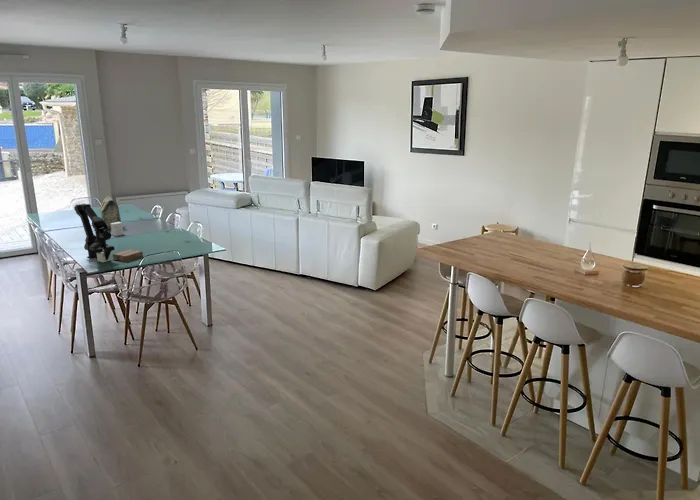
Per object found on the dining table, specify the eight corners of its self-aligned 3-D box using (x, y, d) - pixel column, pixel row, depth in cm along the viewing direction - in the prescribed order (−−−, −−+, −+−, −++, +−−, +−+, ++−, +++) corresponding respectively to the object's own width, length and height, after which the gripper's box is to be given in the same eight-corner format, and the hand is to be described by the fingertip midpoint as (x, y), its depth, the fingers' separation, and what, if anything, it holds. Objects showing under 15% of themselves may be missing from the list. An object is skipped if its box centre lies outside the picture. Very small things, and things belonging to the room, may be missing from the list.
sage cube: (97, 261, 357) (96, 253, 355) (105, 259, 362) (104, 251, 360) (103, 262, 354) (102, 254, 353) (110, 260, 359) (109, 252, 358)
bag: (100, 225, 472) (96, 196, 465) (119, 223, 480) (115, 195, 473) (103, 230, 454) (99, 200, 446) (123, 228, 462) (119, 198, 455)
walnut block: (113, 259, 361) (112, 253, 360) (129, 254, 373) (129, 249, 372) (126, 261, 354) (125, 256, 353) (143, 256, 366) (142, 251, 365)
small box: (120, 233, 440) (119, 221, 437) (124, 234, 437) (122, 222, 434) (111, 235, 434) (109, 223, 432) (114, 236, 431) (113, 224, 428)
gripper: (81, 239, 351) (85, 260, 355) (99, 241, 343) (102, 263, 347) (96, 235, 361) (99, 256, 365) (113, 238, 352) (116, 259, 356)
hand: (104, 259), depth 358 cm, fingers closed on sage cube, 6 cm apart
